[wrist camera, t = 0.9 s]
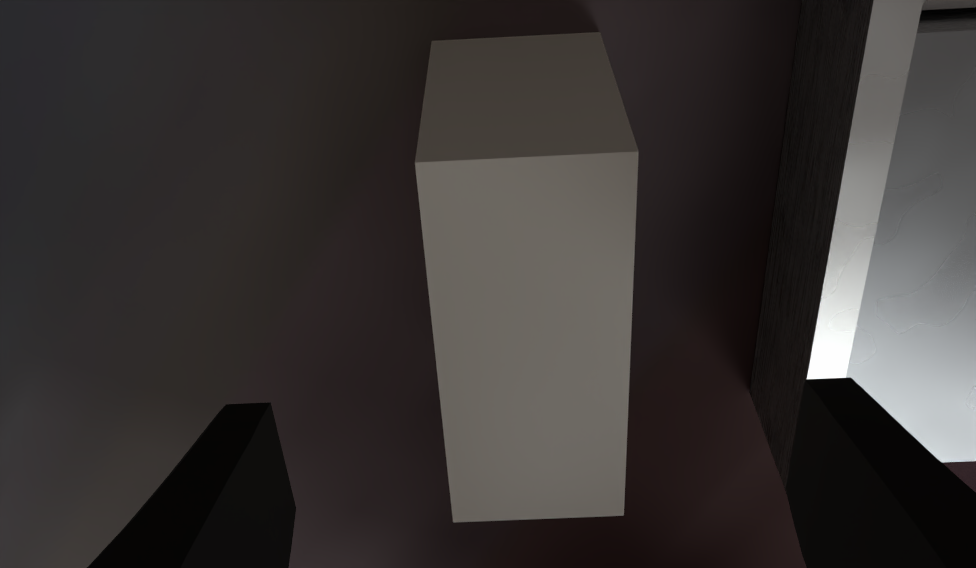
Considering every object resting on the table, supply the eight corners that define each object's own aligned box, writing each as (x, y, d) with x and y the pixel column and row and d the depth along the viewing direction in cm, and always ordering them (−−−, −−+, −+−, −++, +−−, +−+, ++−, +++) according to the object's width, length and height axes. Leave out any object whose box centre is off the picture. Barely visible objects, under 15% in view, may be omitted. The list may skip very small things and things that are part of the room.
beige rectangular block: (595, 343, 20) (623, 515, 16) (459, 349, 20) (452, 522, 16) (599, 30, 17) (638, 151, 12) (432, 39, 17) (415, 162, 12)
